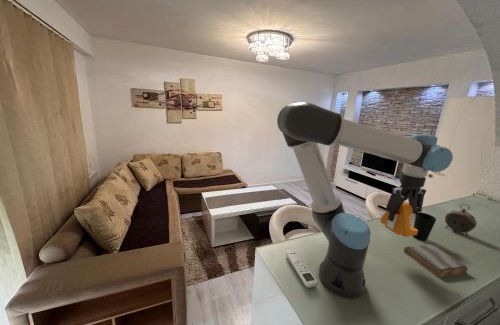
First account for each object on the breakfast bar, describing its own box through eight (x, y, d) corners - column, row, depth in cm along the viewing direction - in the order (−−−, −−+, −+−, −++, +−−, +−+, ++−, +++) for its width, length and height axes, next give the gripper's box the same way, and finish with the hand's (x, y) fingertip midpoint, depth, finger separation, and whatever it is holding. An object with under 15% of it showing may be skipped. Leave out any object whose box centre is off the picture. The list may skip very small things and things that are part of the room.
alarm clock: (472, 236, 104) (482, 207, 100) (468, 239, 101) (479, 209, 97) (444, 225, 113) (453, 199, 109) (440, 227, 111) (449, 200, 107)
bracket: (417, 236, 80) (426, 209, 77) (404, 238, 78) (413, 210, 75) (391, 222, 90) (398, 197, 87) (379, 223, 88) (386, 198, 85)
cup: (406, 234, 103) (412, 213, 100) (415, 232, 105) (421, 211, 102) (423, 244, 96) (430, 221, 93) (433, 241, 98) (440, 219, 95)
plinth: (437, 276, 76) (439, 270, 75) (403, 251, 89) (405, 245, 89) (466, 273, 79) (468, 266, 78) (429, 249, 92) (431, 243, 91)
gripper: (400, 177, 72) (384, 233, 78) (445, 178, 76) (427, 231, 82) (383, 171, 79) (370, 223, 85) (425, 172, 84) (410, 221, 89)
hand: (398, 227), depth 84 cm, fingers closed on bracket, 8 cm apart
